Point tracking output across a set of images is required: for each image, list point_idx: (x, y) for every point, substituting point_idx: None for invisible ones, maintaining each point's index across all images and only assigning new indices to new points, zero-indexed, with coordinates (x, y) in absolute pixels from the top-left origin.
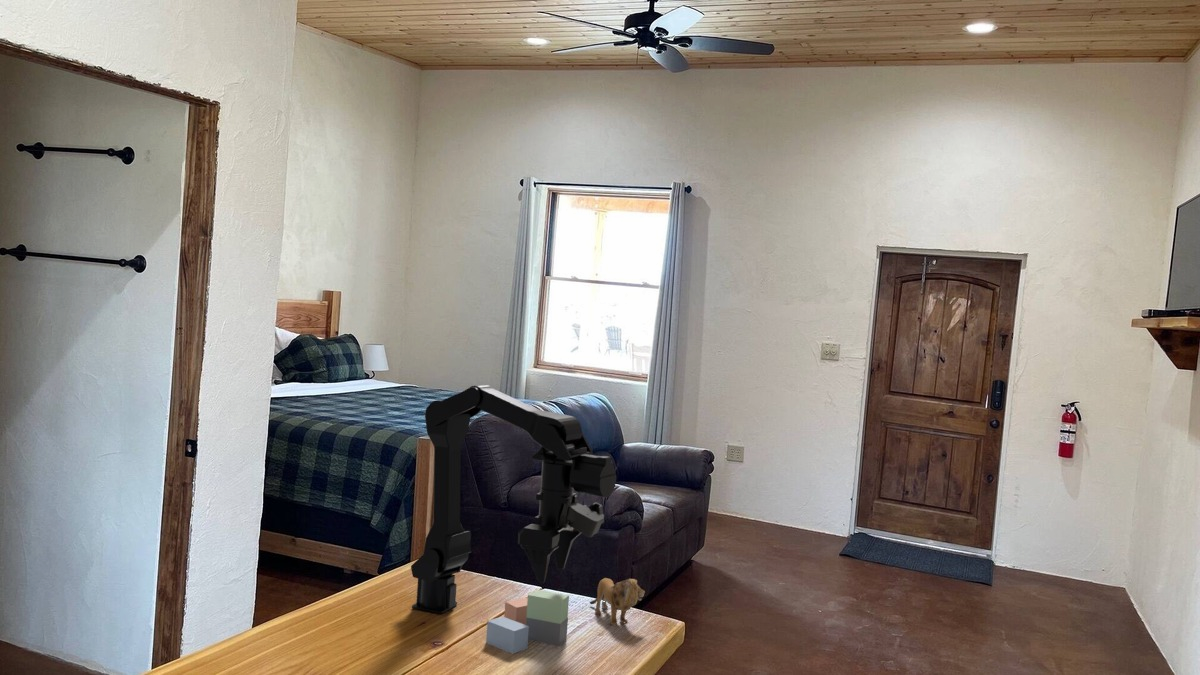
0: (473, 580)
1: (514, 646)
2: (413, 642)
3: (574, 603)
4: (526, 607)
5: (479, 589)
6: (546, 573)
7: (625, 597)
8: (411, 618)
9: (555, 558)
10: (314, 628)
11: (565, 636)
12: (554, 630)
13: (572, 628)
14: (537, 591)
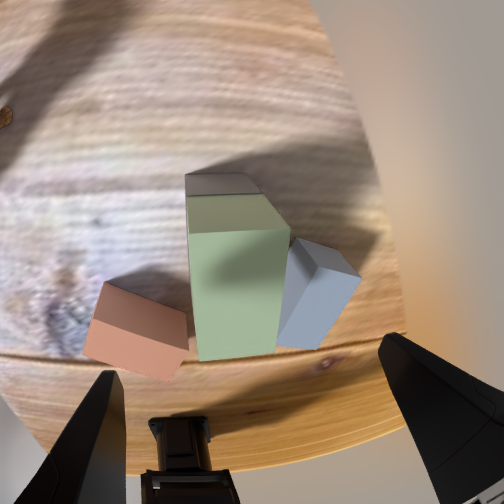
0: (45, 428)
1: (340, 256)
2: (333, 381)
3: None
4: (157, 337)
5: (63, 417)
6: (418, 358)
7: None
8: (243, 425)
9: (125, 444)
10: (320, 442)
11: (196, 177)
12: None
13: (92, 198)
14: (218, 349)
